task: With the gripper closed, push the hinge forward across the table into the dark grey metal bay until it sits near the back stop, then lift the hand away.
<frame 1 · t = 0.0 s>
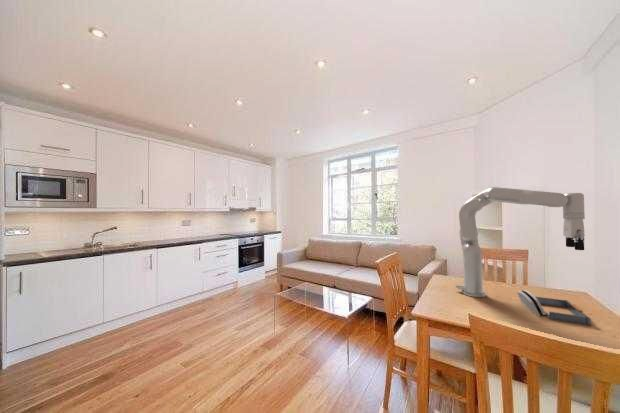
hand: (574, 248, 123), 31 cm above the table, tool pointing down, fingers open, 9 cm apart
bay: (559, 312, 117), on the table
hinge: (531, 309, 122), on the table
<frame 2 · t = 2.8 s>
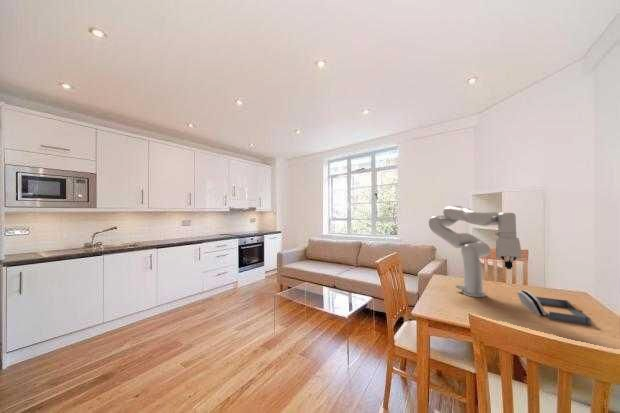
hand: (508, 268, 127), 20 cm above the table, tool pointing down, fingers closed
nothing on the table moved.
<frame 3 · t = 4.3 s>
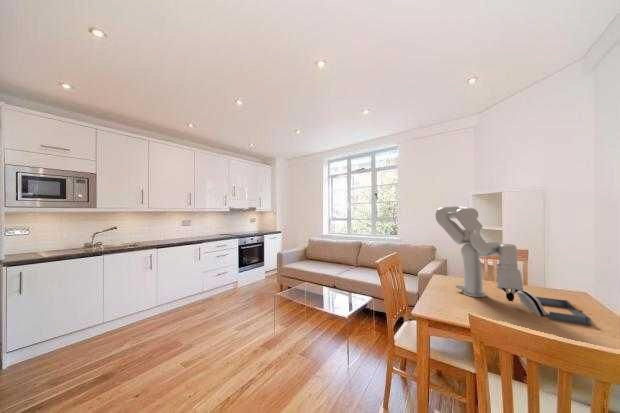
hand: (510, 300, 126), 3 cm above the table, tool pointing down, fingers closed
nothing on the table moved.
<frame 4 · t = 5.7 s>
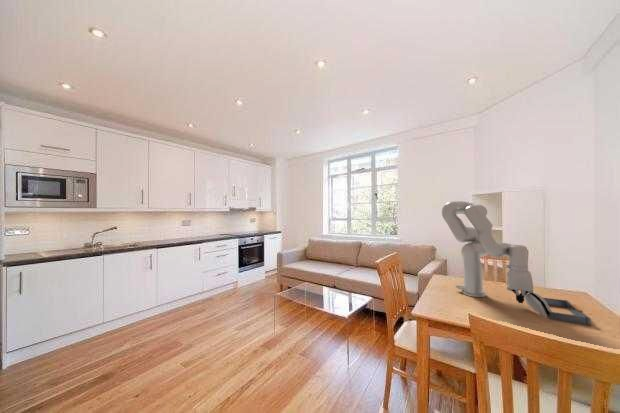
hand: (520, 302, 124), 3 cm above the table, tool pointing down, fingers closed
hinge: (538, 311, 120), on the table, touching gripper
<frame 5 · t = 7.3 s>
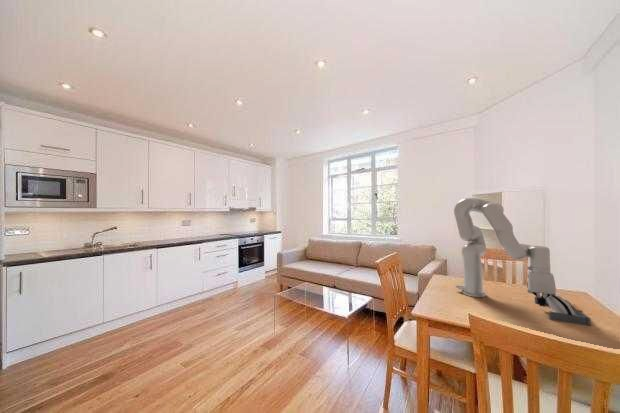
hand: (541, 305, 120), 3 cm above the table, tool pointing down, fingers closed
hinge: (561, 315, 116), on the table, touching gripper
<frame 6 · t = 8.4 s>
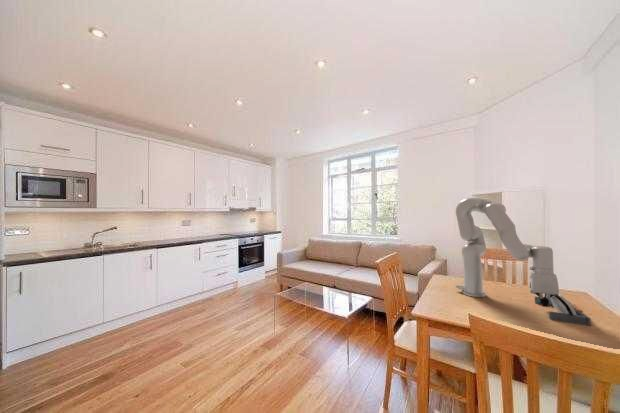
hand: (544, 305, 120), 3 cm above the table, tool pointing down, fingers closed
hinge: (564, 315, 115), on the table
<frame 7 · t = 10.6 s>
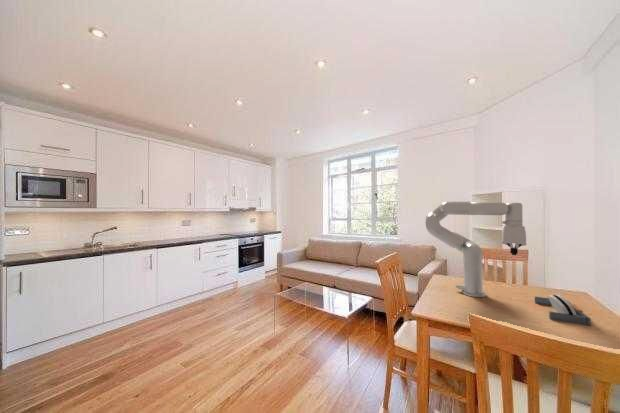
hand: (514, 254, 136), 26 cm above the table, tool pointing down, fingers closed
nothing on the table moved.
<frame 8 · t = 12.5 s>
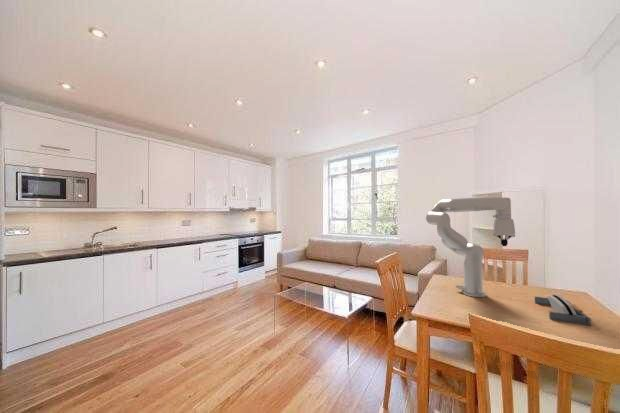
hand: (504, 245, 147), 29 cm above the table, tool pointing down, fingers closed
nothing on the table moved.
at the end: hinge 1.7 cm from the target spot, on the table; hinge moved 11.6 cm from its start; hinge tilted 1° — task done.
